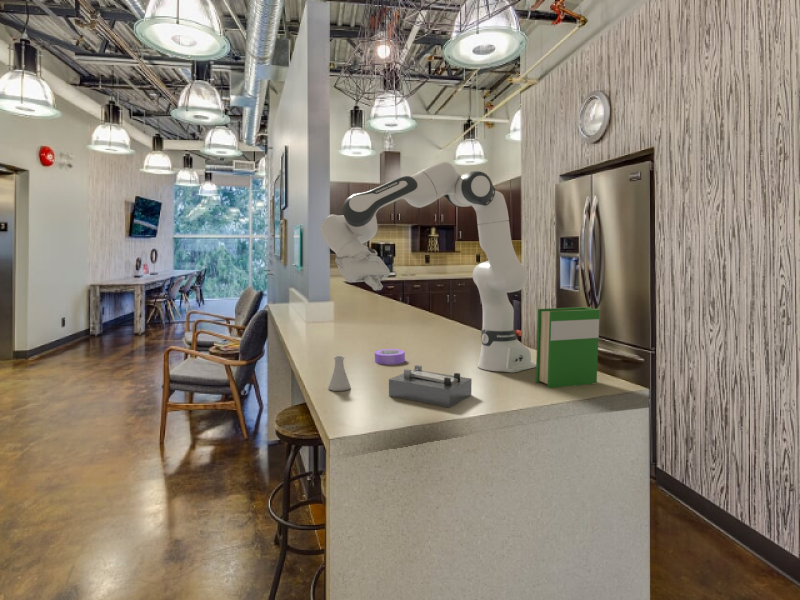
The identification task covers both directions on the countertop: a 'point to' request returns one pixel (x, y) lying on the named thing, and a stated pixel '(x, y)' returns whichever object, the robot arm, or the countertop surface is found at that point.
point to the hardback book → (567, 346)
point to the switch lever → (431, 376)
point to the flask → (339, 376)
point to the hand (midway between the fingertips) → (379, 288)
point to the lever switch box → (430, 388)
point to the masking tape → (389, 356)
